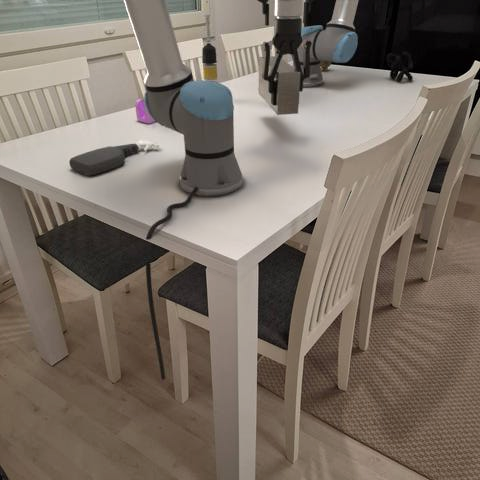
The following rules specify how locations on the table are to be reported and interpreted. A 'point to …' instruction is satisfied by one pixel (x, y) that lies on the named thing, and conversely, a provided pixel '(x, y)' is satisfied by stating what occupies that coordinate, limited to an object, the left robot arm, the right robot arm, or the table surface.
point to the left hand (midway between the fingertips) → (284, 103)
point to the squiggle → (399, 66)
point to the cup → (324, 65)
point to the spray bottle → (106, 157)
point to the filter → (209, 57)
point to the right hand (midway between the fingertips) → (286, 24)
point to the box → (281, 87)
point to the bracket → (142, 112)
